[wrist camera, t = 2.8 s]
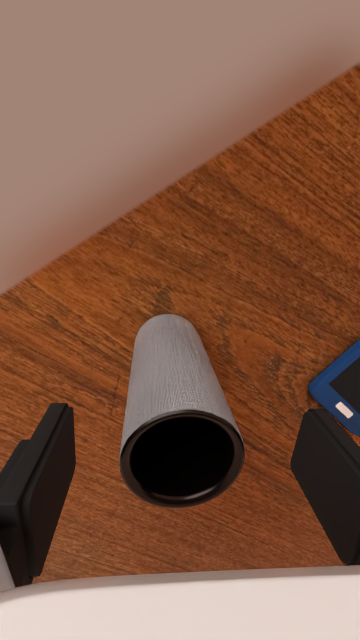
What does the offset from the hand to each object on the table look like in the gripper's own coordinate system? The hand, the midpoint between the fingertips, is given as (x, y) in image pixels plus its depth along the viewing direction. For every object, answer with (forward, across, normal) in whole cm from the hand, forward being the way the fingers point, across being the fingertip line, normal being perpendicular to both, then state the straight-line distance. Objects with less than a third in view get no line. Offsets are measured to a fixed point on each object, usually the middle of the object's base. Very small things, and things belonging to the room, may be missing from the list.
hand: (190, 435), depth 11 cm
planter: (+9, 0, 0) cm, 9 cm away
